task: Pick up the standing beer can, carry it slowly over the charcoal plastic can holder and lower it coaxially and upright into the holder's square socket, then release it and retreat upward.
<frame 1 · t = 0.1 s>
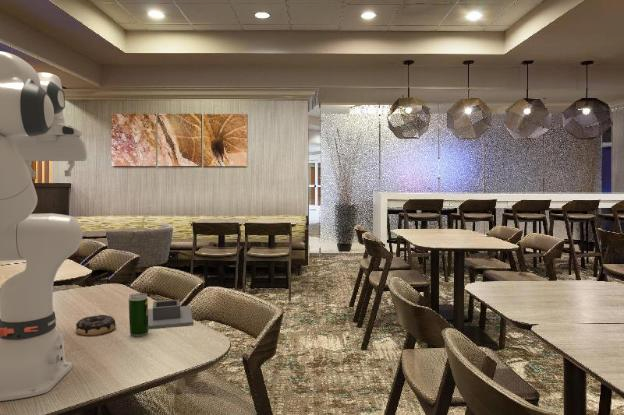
hand: (50, 176, 145), 48 cm above the table, fingers open, 8 cm apart
can holder: (167, 318, 162), on the table
donut: (96, 331, 151), on the table
beer can: (139, 334, 147), on the table
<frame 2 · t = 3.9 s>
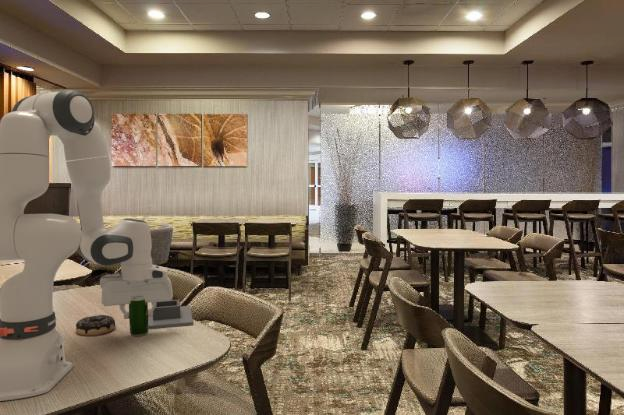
hand: (138, 317, 146), 5 cm above the table, fingers closed on beer can, 5 cm apart
beer can: (139, 334, 147), on the table, touching gripper
everything else where it was.
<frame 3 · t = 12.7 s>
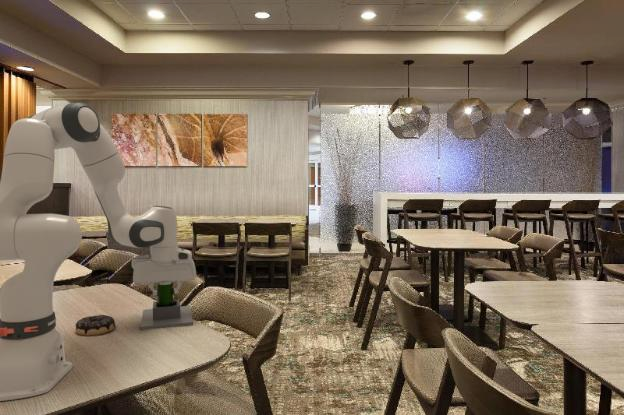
hand: (165, 295, 162), 8 cm above the table, fingers closed on beer can, 5 cm apart
beer can: (166, 315, 162), point 1 cm above the table, touching can holder, gripper
everything else where it was.
when the fingers open (7 cm above the table, at t = 13.3 s): beer can stays where it is, resting on can holder.
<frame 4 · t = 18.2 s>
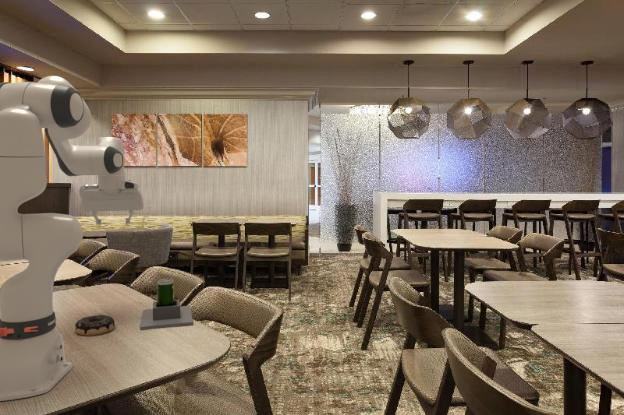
hand: (113, 224, 169), 31 cm above the table, fingers open, 8 cm apart
beer can: (166, 315, 162), point 1 cm above the table, touching can holder
everything else where it was.
at the end: beer can 0.4 cm off-centre on the can holder, point 0.8 cm above the can holder's base; beer can tilted 0°; the gripper is holding nothing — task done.
